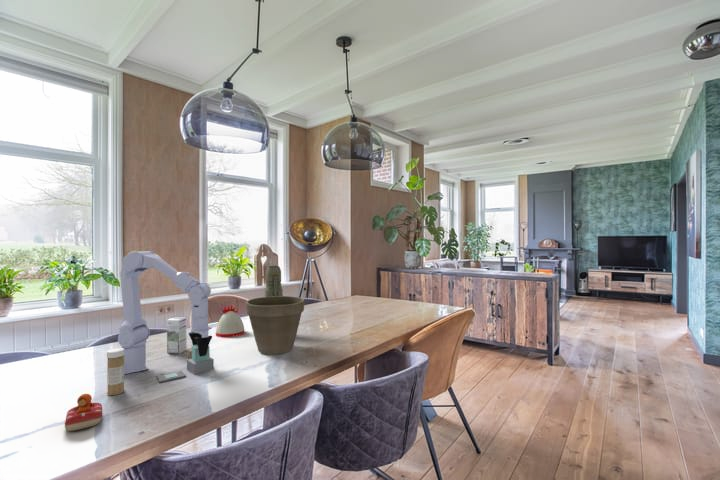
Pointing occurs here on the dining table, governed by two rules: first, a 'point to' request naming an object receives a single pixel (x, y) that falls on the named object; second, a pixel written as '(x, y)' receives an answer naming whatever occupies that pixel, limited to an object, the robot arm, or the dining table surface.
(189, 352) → the walnut block
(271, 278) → the green cactus
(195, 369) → the grey block
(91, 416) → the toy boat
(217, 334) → the white domed piece
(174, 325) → the syrup box
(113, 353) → the sprinkles bottle
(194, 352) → the teal block
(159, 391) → the dining table surface
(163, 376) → the card
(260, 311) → the plant pot
